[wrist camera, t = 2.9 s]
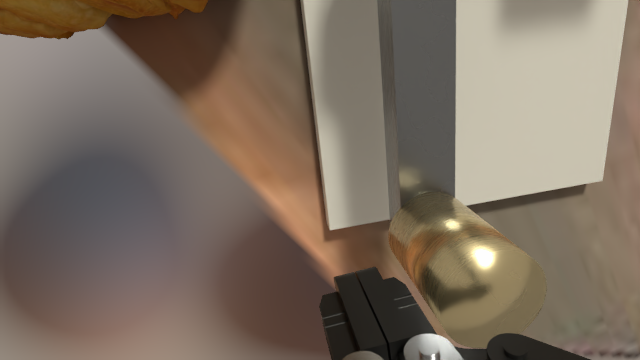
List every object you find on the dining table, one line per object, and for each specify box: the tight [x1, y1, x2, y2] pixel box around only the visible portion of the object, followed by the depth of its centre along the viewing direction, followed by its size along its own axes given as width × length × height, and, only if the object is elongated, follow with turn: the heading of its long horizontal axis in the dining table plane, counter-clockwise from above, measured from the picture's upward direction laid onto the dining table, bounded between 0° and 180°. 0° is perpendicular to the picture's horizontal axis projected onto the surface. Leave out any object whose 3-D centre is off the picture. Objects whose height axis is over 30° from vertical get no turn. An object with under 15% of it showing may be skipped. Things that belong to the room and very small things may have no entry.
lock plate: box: [300, 0, 628, 230], centre depth 18 cm, size 20×19×7 cm
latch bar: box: [377, 0, 547, 348], centre depth 14 cm, size 17×4×7 cm, turn 7°
